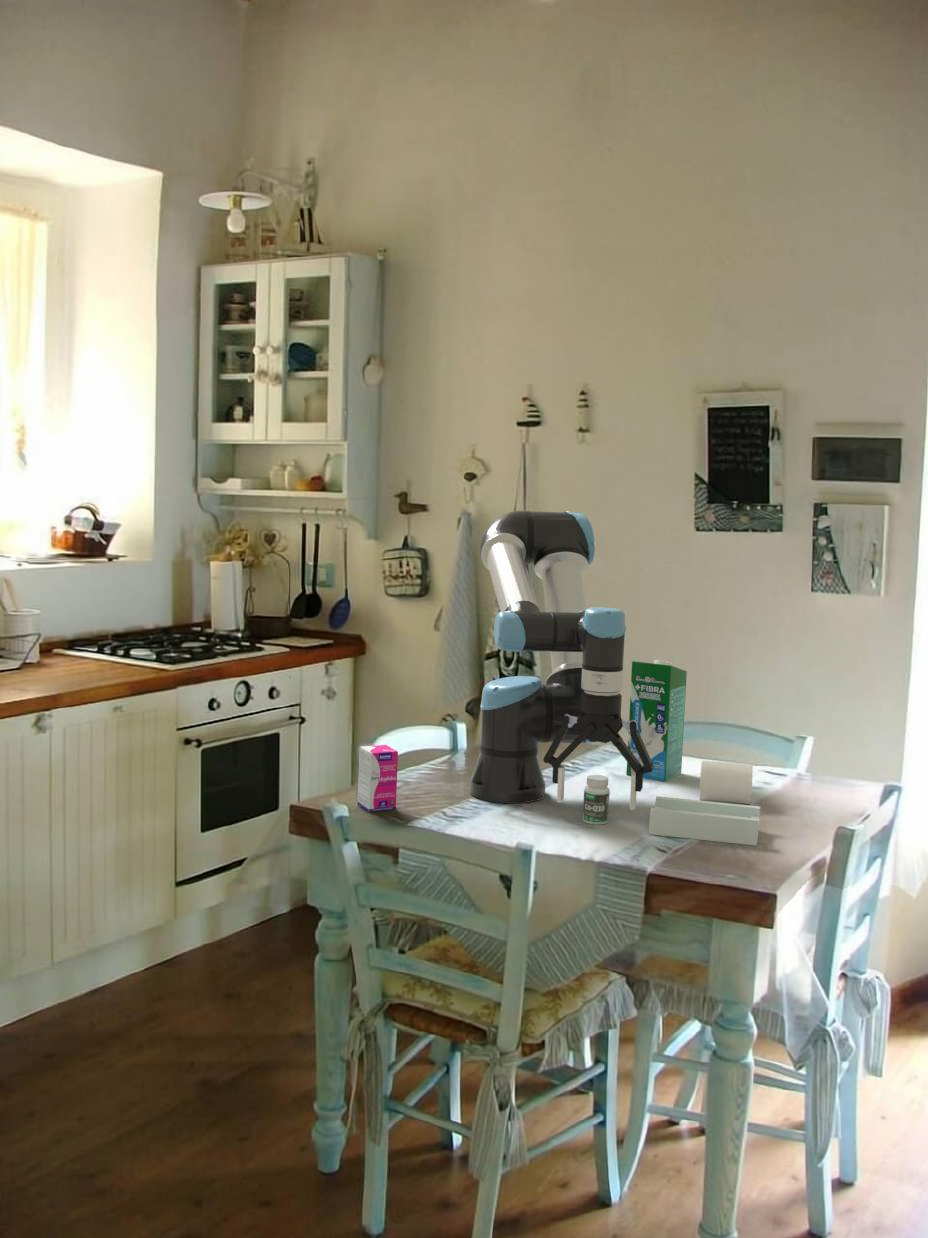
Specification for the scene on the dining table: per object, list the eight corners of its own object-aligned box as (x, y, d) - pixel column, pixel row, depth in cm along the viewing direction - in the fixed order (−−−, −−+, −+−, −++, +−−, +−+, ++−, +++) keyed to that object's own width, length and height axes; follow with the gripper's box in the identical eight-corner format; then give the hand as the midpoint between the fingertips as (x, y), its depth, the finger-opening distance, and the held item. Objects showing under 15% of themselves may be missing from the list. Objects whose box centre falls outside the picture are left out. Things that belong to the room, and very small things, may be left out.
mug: (750, 809, 243) (753, 769, 242) (698, 804, 245) (701, 765, 244) (749, 794, 254) (751, 756, 253) (699, 790, 256) (702, 752, 255)
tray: (648, 834, 223) (650, 809, 223) (655, 819, 233) (656, 796, 232) (756, 845, 218) (758, 821, 218) (758, 830, 228) (760, 806, 227)
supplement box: (368, 812, 231) (370, 752, 230) (356, 804, 237) (358, 746, 235) (397, 809, 234) (398, 750, 233) (384, 801, 239) (385, 743, 238)
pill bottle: (579, 823, 229) (581, 778, 228) (586, 816, 233) (588, 773, 232) (604, 826, 227) (606, 781, 226) (610, 820, 232) (613, 776, 231)
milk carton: (681, 773, 269) (687, 660, 266) (664, 781, 262) (671, 665, 259) (643, 767, 274) (649, 655, 271) (626, 774, 267) (631, 660, 264)
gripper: (530, 690, 227) (526, 802, 230) (667, 700, 221) (661, 816, 223) (539, 683, 234) (534, 792, 237) (671, 693, 228) (665, 806, 230)
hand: (596, 804), depth 230 cm, fingers open, 13 cm apart
